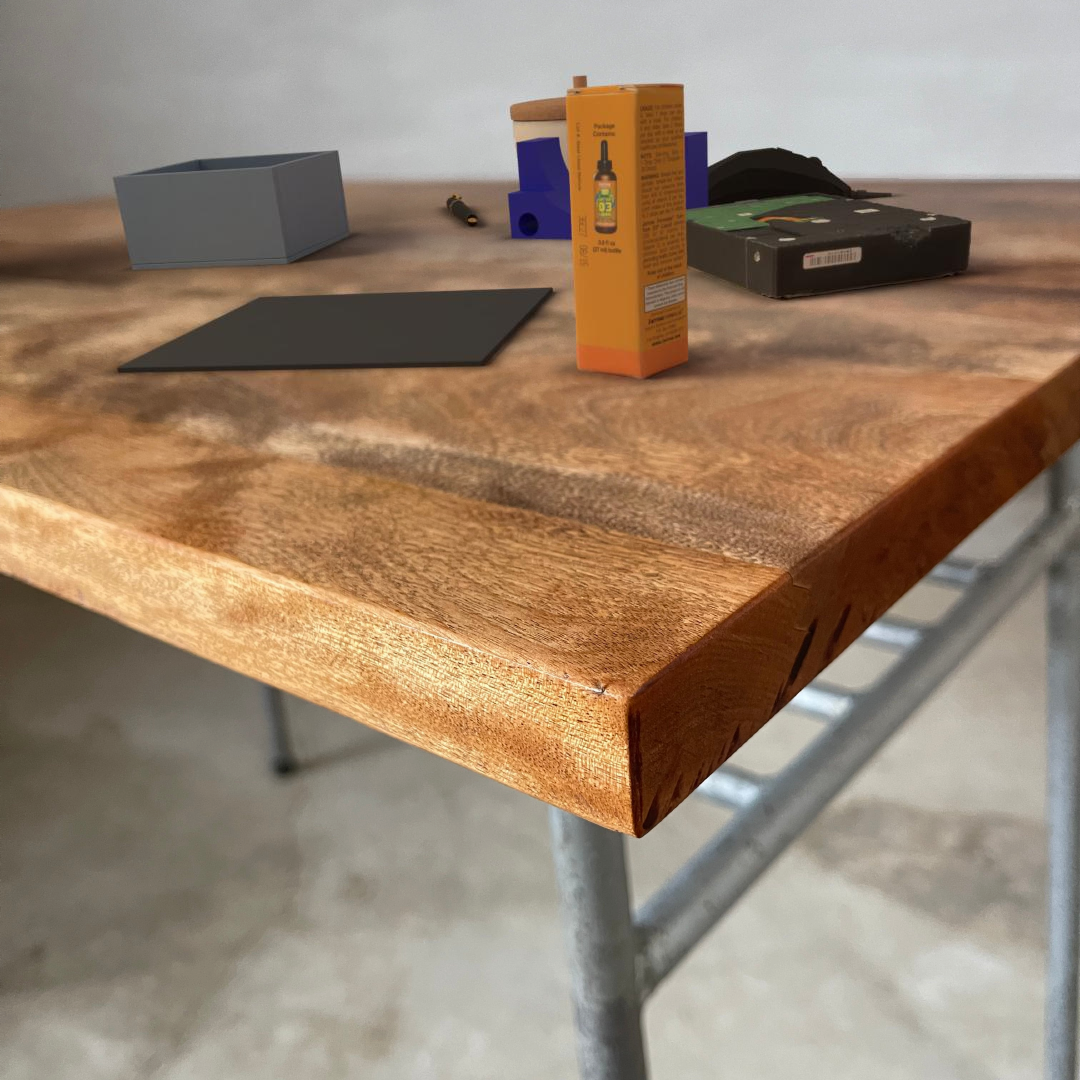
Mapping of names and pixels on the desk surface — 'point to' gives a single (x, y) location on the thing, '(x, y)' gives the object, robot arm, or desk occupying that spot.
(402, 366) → the mat
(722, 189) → the gaming mouse
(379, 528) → the desk surface
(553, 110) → the trinket box
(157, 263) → the box
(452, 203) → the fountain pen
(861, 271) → the disk drive
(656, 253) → the supplement box
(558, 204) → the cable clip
